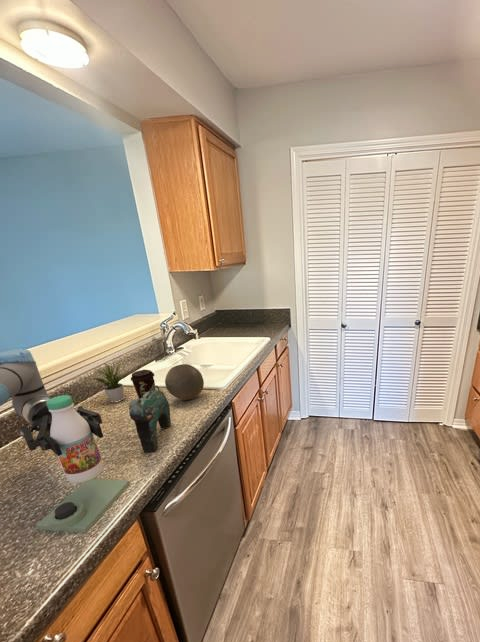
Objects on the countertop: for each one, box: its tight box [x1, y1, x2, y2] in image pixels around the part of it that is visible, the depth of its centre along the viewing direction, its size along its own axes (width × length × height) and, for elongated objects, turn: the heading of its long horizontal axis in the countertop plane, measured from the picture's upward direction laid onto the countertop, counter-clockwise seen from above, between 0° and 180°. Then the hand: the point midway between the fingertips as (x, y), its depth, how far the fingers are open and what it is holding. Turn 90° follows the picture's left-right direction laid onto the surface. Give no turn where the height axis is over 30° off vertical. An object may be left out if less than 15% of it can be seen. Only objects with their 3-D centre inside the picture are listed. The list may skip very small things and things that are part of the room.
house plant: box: [87, 360, 126, 402], centre depth 134 cm, size 14×14×16 cm
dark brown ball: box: [164, 363, 205, 401], centre depth 130 cm, size 14×14×15 cm
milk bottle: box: [46, 394, 105, 484], centre depth 74 cm, size 8×8×20 cm
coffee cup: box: [130, 369, 157, 399], centre depth 130 cm, size 9×8×13 cm
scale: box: [35, 478, 131, 534], centre depth 77 cm, size 17×12×3 cm
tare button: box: [54, 502, 76, 520], centre depth 72 cm, size 4×4×2 cm
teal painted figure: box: [128, 384, 172, 454], centre depth 102 cm, size 20×6×20 cm, turn 3°
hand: (80, 440), depth 71 cm, fingers closed on milk bottle, 8 cm apart
